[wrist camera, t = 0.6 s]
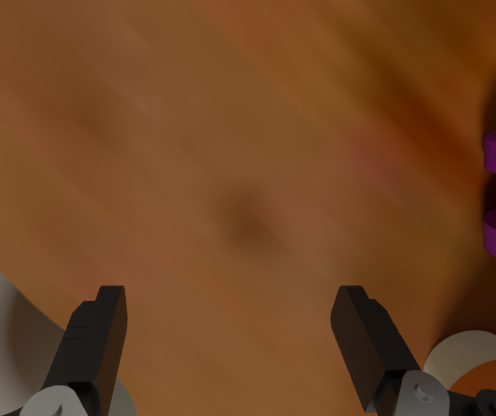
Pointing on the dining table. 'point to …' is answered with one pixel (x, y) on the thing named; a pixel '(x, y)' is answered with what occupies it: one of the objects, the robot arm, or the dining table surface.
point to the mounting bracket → (492, 222)
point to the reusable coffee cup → (464, 362)
